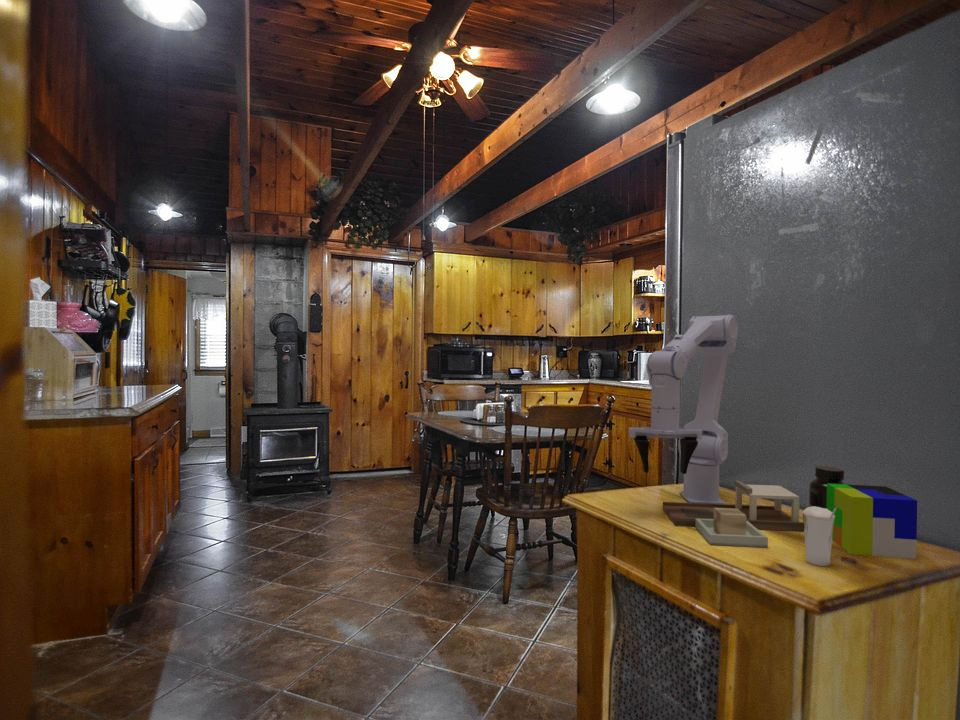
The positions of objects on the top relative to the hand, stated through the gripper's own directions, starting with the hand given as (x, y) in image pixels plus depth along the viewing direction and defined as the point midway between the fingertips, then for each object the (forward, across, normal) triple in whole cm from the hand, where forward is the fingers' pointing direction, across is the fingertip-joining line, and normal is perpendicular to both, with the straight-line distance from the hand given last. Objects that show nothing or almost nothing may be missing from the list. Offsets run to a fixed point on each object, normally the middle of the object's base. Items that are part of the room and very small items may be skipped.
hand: (664, 472), depth 115 cm
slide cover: (+8, +20, 0) cm, 22 cm away
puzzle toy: (+10, +33, -13) cm, 37 cm away
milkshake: (+10, +20, -23) cm, 32 cm away
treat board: (+9, +13, 0) cm, 16 cm away
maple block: (+9, +10, -11) cm, 17 cm away
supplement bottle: (+10, +31, -3) cm, 33 cm away
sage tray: (+9, +10, -12) cm, 18 cm away
